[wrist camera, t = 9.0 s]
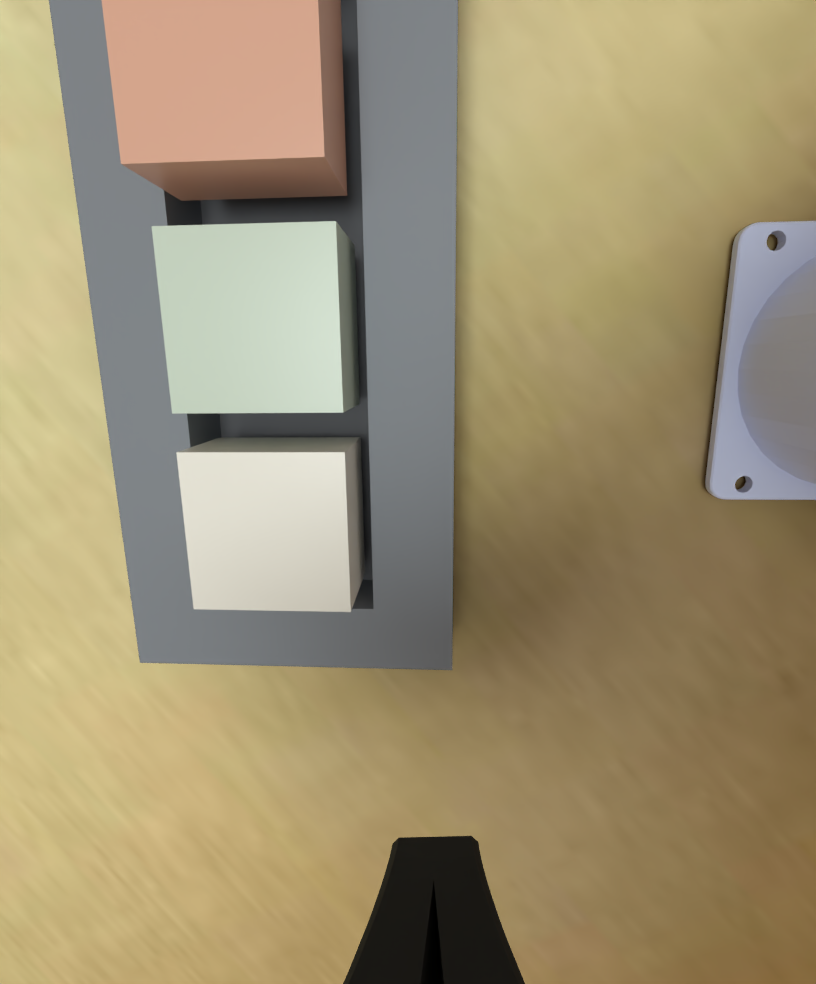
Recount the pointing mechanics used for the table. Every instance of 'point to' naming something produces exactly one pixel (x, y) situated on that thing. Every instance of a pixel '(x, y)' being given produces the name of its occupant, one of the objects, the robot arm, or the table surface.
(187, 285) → the sage key
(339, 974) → the table surface
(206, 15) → the terracotta key
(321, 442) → the ivory key
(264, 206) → the key panel
